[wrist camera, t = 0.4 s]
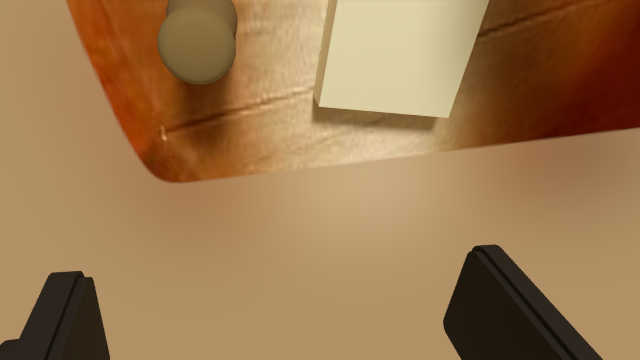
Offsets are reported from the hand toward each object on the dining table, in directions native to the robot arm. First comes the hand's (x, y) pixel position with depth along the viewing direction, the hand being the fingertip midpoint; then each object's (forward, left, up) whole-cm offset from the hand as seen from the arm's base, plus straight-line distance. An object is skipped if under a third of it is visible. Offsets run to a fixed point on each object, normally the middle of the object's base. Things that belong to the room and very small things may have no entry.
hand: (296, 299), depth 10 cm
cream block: (-1, +15, -32) cm, 36 cm away
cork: (0, -3, -33) cm, 33 cm away
